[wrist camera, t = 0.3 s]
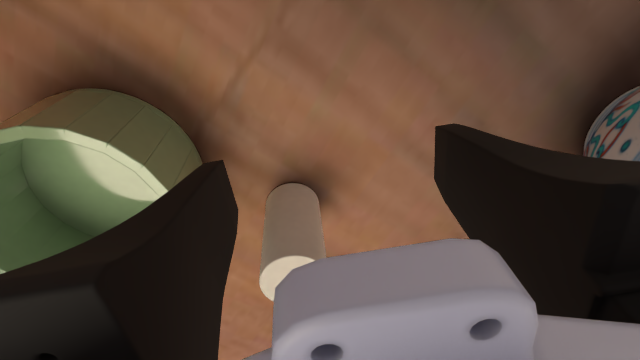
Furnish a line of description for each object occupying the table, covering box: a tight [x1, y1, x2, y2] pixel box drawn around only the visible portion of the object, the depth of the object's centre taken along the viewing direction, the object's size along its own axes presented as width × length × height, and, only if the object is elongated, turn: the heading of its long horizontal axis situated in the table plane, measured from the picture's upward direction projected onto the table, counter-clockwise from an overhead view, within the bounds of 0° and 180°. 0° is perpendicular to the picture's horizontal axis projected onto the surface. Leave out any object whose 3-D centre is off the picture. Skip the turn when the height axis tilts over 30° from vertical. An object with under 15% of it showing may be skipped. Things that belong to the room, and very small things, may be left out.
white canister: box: [259, 183, 326, 302], centre depth 22 cm, size 4×4×7 cm
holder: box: [0, 88, 202, 274], centre depth 20 cm, size 11×11×6 cm
